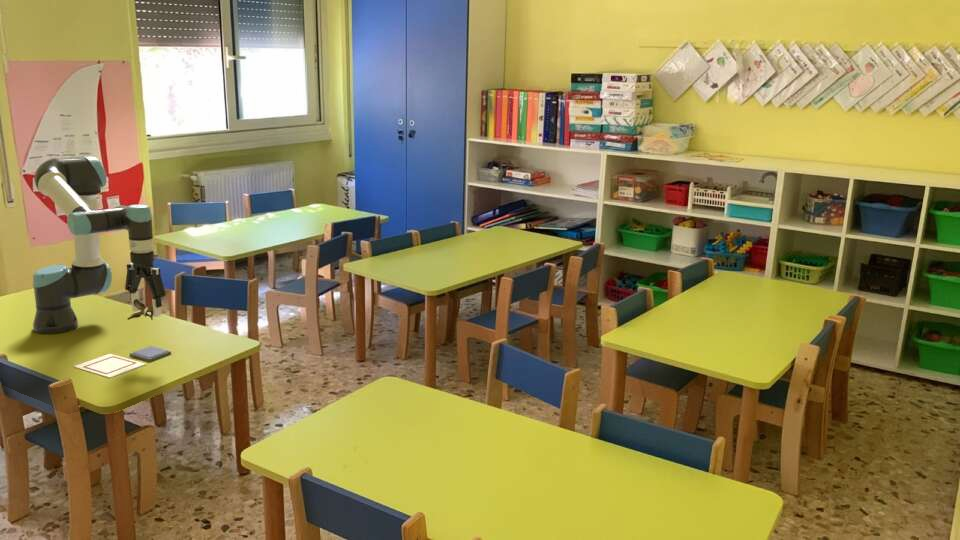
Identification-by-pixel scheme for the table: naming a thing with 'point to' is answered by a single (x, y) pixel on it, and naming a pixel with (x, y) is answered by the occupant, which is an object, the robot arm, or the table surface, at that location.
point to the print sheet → (109, 365)
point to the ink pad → (150, 353)
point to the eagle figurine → (143, 310)
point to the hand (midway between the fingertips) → (146, 313)
